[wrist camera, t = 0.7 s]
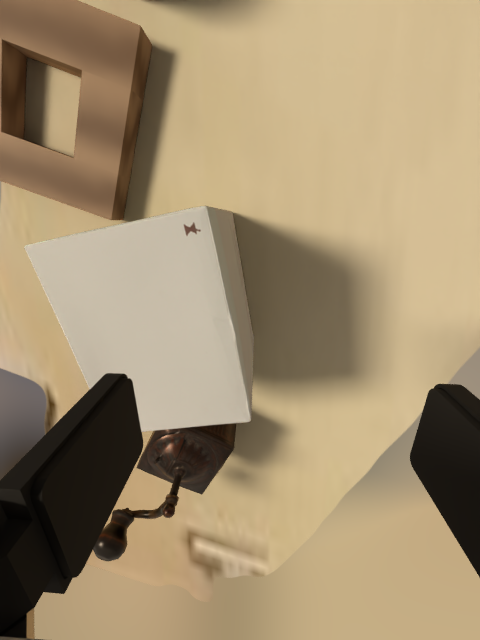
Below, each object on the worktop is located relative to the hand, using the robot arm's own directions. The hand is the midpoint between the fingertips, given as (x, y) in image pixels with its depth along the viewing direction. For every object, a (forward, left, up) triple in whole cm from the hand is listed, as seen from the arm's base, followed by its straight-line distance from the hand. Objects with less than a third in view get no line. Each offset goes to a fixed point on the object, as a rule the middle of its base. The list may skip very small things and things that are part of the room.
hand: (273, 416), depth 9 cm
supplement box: (+5, -7, -29) cm, 30 cm away
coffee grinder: (+28, -2, -29) cm, 40 cm away
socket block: (-9, -28, -28) cm, 41 cm away
